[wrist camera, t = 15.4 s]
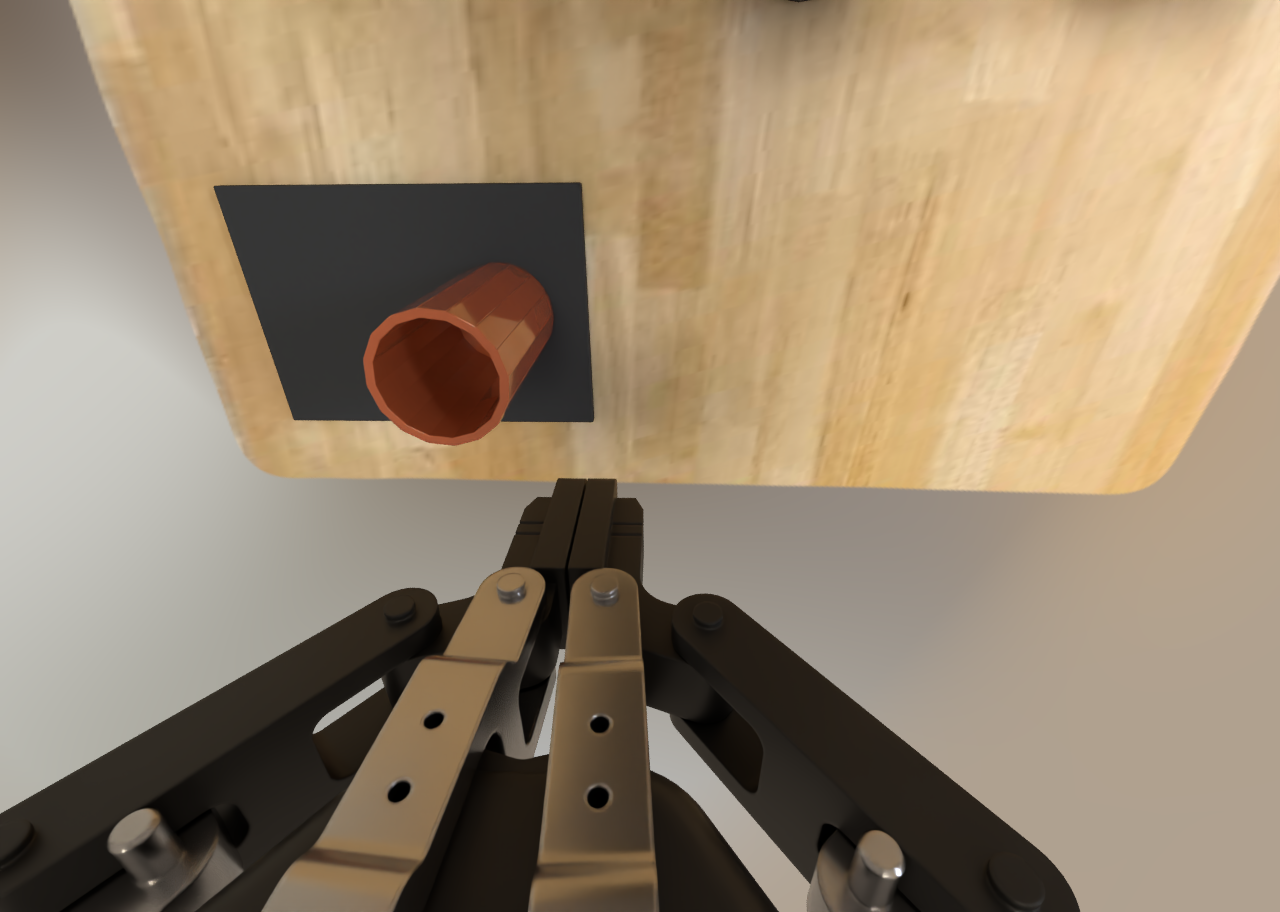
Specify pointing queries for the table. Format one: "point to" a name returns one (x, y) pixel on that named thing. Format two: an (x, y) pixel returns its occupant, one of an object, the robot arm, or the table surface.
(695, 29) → the table surface
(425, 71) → the table surface
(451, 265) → the mat
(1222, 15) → the table surface
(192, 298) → the table surface
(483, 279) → the cup
